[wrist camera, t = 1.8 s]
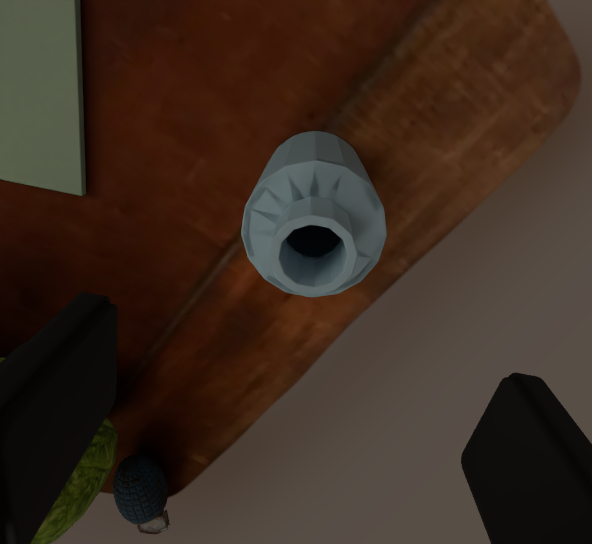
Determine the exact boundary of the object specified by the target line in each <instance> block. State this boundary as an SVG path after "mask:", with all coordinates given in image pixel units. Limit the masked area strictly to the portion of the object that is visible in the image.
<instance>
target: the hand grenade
mask: <svg viewBox="0 0 592 544" xmlns="http://www.w3.org/2000/svg"><path fill="white" fill-rule="evenodd" d="M113 492H114V498H115V502H116V505H117V507H118V509H119V511H120V513H121V514H122V516H123V517H124V518H125V519H127V520H128V521H130V522H131V523H133V524H137V527H138V529H139V531H140V532H141V533H147V534H158V533H161V532H163V531H165V530H167V529H168V525H170V524H169V519H168V514H167V510H165V512H164V510H163V509H164V507H165V505H166V502H167V498H168V486H167V481H166V479H165V476H164V474H163V472H162V470H161V469H160V467H159V466H158V464H157V463H156V462H155V461H154V460H152V459H151V458H149V457H148V456H145V455H141V454H135V455H134V454H132V455H131V456H128V457H127V458H124V460H123V461H122V462H121V463H120V464H119V466H118V467H117V469H116V472H115V476H114V480H113Z"/></svg>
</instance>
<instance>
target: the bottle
mask: <svg viewBox="0 0 592 544" xmlns="http://www.w3.org/2000/svg"><path fill="white" fill-rule="evenodd" d="M241 232H242V233H241V234H242V238H243V241H244V245H245V249H246V253H247V256H248V258H249V260H250V261H251V263H252V264H253V265H254V266H255V268H256V269H257V270H258V272H259V273H260V274H261V276H262V277H263V278H264V279H265V280H267V281H268V282H270V283H272V284H273V285H275V286H277V287H278V288H280V289H282V290H283V291H285V292H287V293H292V294H297V295H302V296H307V297H318V296H325V295H332V294H338V293H340V292H342V291H344V290H346V289H348V288H349V287H351V286H353V285H355V284H357V283H359V282H360V281H362V280H363V279H364V277H365V276H366V275H367V274H368V273H369V272H370V270H371V269H372V268H373V267H374V266H375V265H376V263H377V262H378V261H379V258H380V255H381V252H382V249H383V246H384V243H385V240H386V237H387V236H386V235H387V231H386V222H385V213H384V208H383V205H382V203H381V201H380V199H379V197H378V195H377V193H376V191H375V189H374V187H373V185H372V183H371V181H370V178H369V176H368V174H367V172H366V170H365V168H364V166H363V164H362V162H361V161H360V159H359V157H358V155H357V154H356V152H355V150H354V149H353V148H352V147H351V146H350V145H349V144H348V143H347V142H345V141H344V140H343V139H341V138H339V137H338V136H336V135H333V134H330V133H327V132H321V131H310V132H304V133H300V134H297V135H294V136H293V137H291V138H289V139H288V140H286V141H285V142H284V143H283V144H281V145H280V146H279V147H278V148H277V149H276V151H275V153H274V154H273V156H272V157H271V159H270V161H269V162H268V164H267V166H266V168H265V169H264V171H263V173H262V175H261V177H260V179H259V181H258V183H257V185H256V187H255V188H254V190H253V192H252V194H251V196H250V198H249V200H248V202H247V204H246V206H245V210H244V217H243V224H242V230H241Z"/></svg>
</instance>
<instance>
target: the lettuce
mask: <svg viewBox="0 0 592 544" xmlns="http://www.w3.org/2000/svg"><path fill="white" fill-rule="evenodd" d="M4 359H5V358H0V363H1V362H2V361H3V360H4ZM117 435H118V432H117V431H116V429H115V428H114V427H113V425H112V424H111V422H110V421H109V420H108V418H107V417H106V418H105V420H104V422H103V423H102V425H101V427H100V428H99V430H98V432H97V433H96V435H95V437H94V438H93V440H92V442H91V443H90V445H89V447H88V448H87V450H86V452H85V453H84V455H83V457H82V458H81V460H80V462H79V463H78V465H77V467H76V468H75V470H74V472H73V473H72V475H71V477H70V478H69V480H68V482H67V483H66V485H65V487H64V488H63V490H62V492H61V493H60V495H59V497H58V498H57V500H56V502H55V503H54V505H53V507H52V508H51V510H50V512H49V513H48V515H47V517H46V518H45V520H44V522H43V523H42V525H41V527H40V528H39V530H38V532H37V533H36V535H35V537H34V539H33V540H32V542H31V543H30V544H50V543H52V542H54V541H56V540H57V539H58V538H59V537H60V536H61V535H63V533H65V532H66V531H67V530H68V529H69V528H70V527H71V526H72V525H73V524H74V523H75V522H76V521H78V520H79V519H80V518H81V517H82V516H83V515H84V513H85V512H86V510H87V509H88V507H89V506H90V505H91V503H92V502H93V500H94V499H95V497H96V496H97V495H98V493H99V492H100V490H101V489H102V487H103V485H104V483H105V481H106V479H107V477H108V475H109V473H110V471H111V469H112V467H113V465H114V463H115V460H116V448H117Z"/></svg>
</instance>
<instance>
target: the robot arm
mask: <svg viewBox="0 0 592 544" xmlns="http://www.w3.org/2000/svg"><path fill="white" fill-rule="evenodd" d="M116 380H117V306H116V305H115V304H111V303H110V299H109V297H107V296H103V295H97V294H92V293H87V292H81V293H79V294H78V295H77V296H76V297H75V298H74V299H73V300H71V301H70V302H69V303H68V304H67V305H66V306H65V307H64V308H63V309H62V310H61V311H60V312H59V313H58V314H57V315H55V316H54V317H53V318H52V319H51V320H50V321H49V322H48V323H47V324H46V325H45V326H44V327H43V328H42V329H41V330H40V331H38V332H37V333H36V334H35V335H34V336H33V337H32V338H31V339H30V340H29V341H28V342H25V343H22V344H21V345H20V346H18V347H17V348H16V349H15V350H14V351H12V352H11V353H10V354H9V355H8V356H7V357H6V358H5V359H4V360H3V361H2V362H1V363H0V544H30V543H31V542H32V540H33V539H34V537H35V535H36V533H37V532H38V530H39V528H40V527H41V525H42V523H43V522H44V520H45V518H46V517H47V515H48V513H49V512H50V510H51V508H52V507H53V505H54V503H55V502H56V500H57V498H58V497H59V495H60V493H61V492H62V490H63V488H64V487H65V485H66V483H67V482H68V480H69V478H70V477H71V475H72V473H73V472H74V470H75V468H76V467H77V465H78V463H79V462H80V460H81V458H82V457H83V455H84V453H85V452H86V450H87V448H88V447H89V445H90V443H91V442H92V440H93V438H94V437H95V435H96V433H97V432H98V430H99V428H100V427H101V425H102V423H103V422H104V420H105V418H106V417H107V415H108V413H109V412H110V410H111V408H112V406H113V404H114V401H115V397H116ZM461 464H462V469H463V471H464V474H465V477H466V479H467V482H468V484H469V487H470V490H471V492H472V495H473V497H474V500H475V503H476V505H477V508H478V510H479V513H480V515H481V518H482V521H483V523H484V526H485V529H486V531H487V534H488V536H489V539H490V541H491V544H592V444H591V443H590V441H589V440H588V439H587V437H586V436H585V435H584V433H583V432H582V431H581V429H580V428H579V427H578V426H577V424H576V423H575V422H574V420H573V419H572V418H571V416H570V415H569V414H568V412H567V411H566V410H565V408H564V407H563V406H562V405H561V403H560V402H559V401H558V399H557V398H556V397H555V395H554V394H553V393H552V391H551V390H550V389H549V387H548V386H547V385H546V383H545V382H544V381H543V380H542V379H541V378H539V377H536V376H531V375H525V374H520V373H512V374H511V375H510V376H509V377H505V378H504V379H502V381H501V382H500V384H499V386H498V388H497V390H496V392H495V393H494V395H493V397H492V399H491V401H490V403H489V404H488V407H487V408H486V410H485V412H484V414H483V416H482V418H481V420H480V421H479V423H478V425H477V427H476V429H475V430H474V432H473V434H472V436H471V438H470V440H469V442H468V443H467V445H466V447H465V449H464V451H463V453H462V457H461Z"/></svg>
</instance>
